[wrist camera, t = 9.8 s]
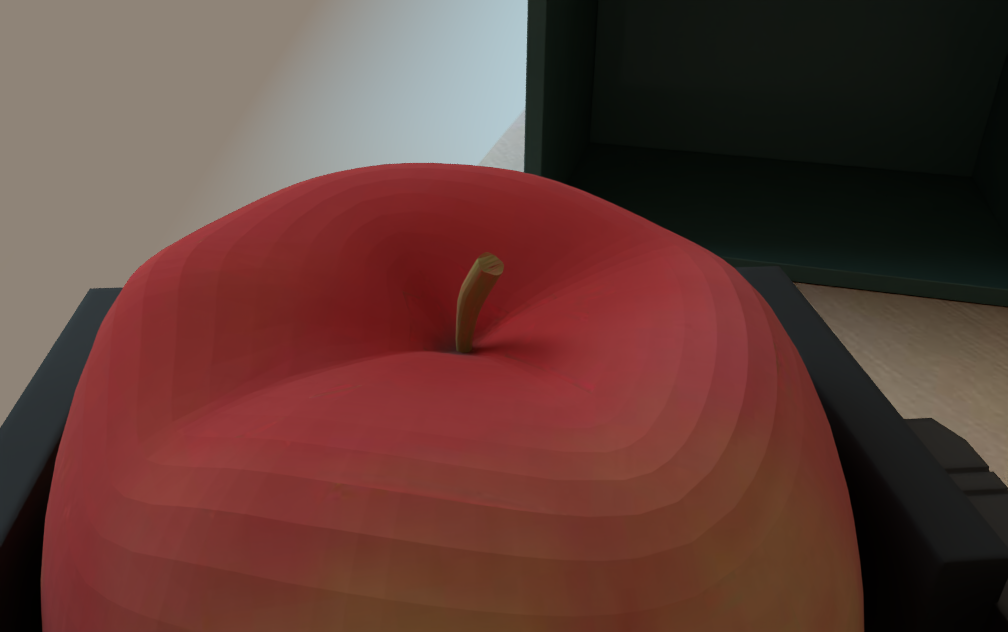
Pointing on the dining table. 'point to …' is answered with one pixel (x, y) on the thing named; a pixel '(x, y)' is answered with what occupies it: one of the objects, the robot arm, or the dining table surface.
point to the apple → (445, 427)
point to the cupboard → (789, 131)
